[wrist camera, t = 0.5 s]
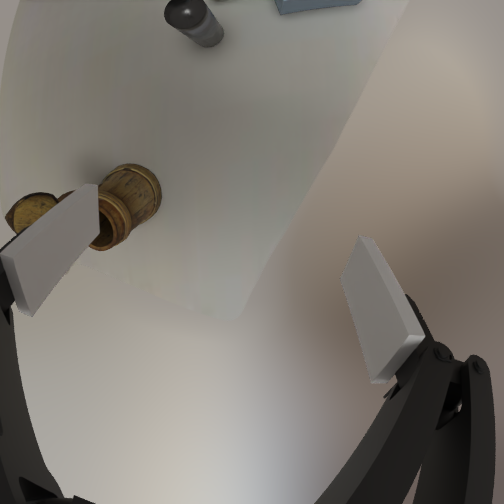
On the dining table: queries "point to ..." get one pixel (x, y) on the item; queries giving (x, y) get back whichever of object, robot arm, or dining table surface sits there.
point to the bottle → (194, 21)
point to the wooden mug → (102, 205)
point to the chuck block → (310, 4)
